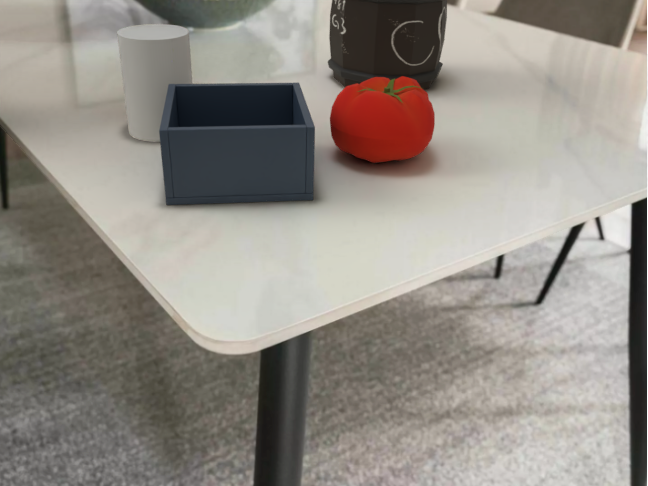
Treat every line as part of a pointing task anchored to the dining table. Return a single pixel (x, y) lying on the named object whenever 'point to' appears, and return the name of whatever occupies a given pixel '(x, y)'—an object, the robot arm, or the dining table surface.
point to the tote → (236, 143)
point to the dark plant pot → (387, 39)
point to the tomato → (382, 119)
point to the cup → (151, 73)
